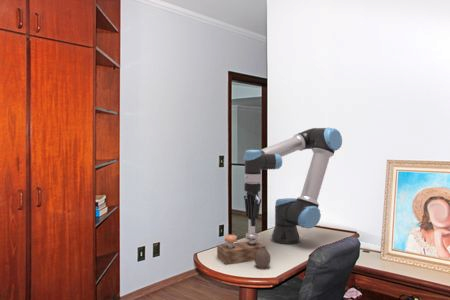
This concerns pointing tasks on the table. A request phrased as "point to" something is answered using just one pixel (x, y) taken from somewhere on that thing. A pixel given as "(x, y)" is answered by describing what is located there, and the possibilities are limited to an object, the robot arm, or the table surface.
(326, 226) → the table surface
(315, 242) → the table surface
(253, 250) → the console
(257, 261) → the vase
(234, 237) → the terracotta plunger
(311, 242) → the table surface
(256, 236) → the grey plunger
